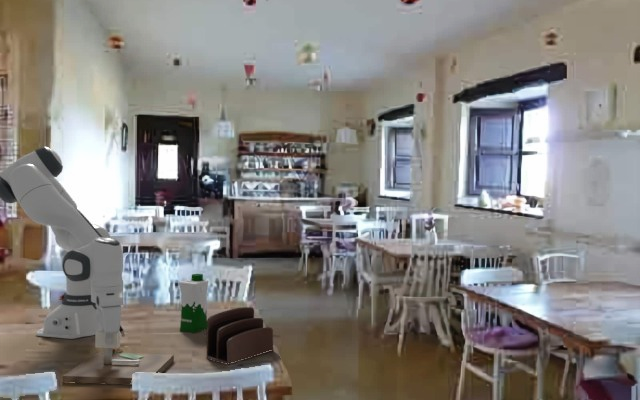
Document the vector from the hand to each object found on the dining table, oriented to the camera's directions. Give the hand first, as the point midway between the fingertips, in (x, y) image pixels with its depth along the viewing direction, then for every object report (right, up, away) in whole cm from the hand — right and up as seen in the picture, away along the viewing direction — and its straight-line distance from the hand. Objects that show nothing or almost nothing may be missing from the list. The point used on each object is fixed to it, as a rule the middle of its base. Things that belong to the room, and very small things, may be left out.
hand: (107, 342), depth 179 cm
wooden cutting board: (+4, -9, 0) cm, 9 cm away
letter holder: (+36, -8, +18) cm, 41 cm away
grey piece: (+3, -6, 0) cm, 7 cm away
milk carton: (+15, -7, +47) cm, 50 cm away
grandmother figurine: (-5, -8, +20) cm, 22 cm away
